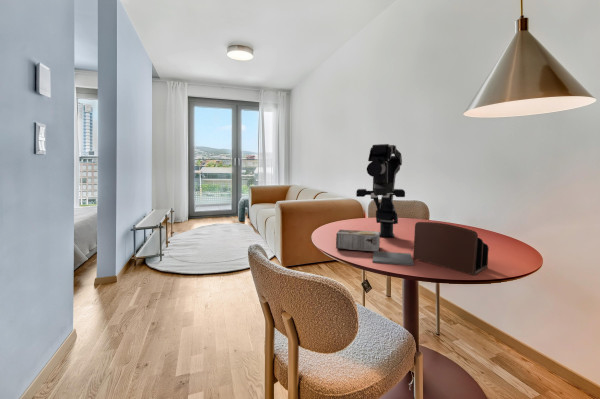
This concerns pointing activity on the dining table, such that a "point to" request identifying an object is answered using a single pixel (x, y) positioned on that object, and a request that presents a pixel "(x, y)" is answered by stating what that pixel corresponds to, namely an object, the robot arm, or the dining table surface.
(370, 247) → the coffee box
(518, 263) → the dining table surface
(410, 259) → the mat
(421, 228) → the letter holder
